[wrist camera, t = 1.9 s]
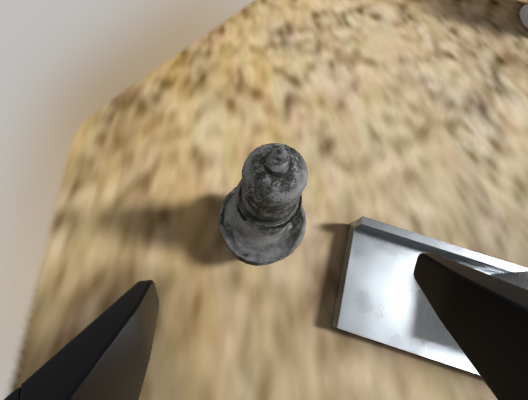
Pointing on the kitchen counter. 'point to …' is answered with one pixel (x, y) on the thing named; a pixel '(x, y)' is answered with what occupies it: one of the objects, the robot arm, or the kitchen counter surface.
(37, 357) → the kitchen counter surface
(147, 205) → the kitchen counter surface
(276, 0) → the kitchen counter surface
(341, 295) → the rail
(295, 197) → the dark grey tall piece
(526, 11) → the glass holder
